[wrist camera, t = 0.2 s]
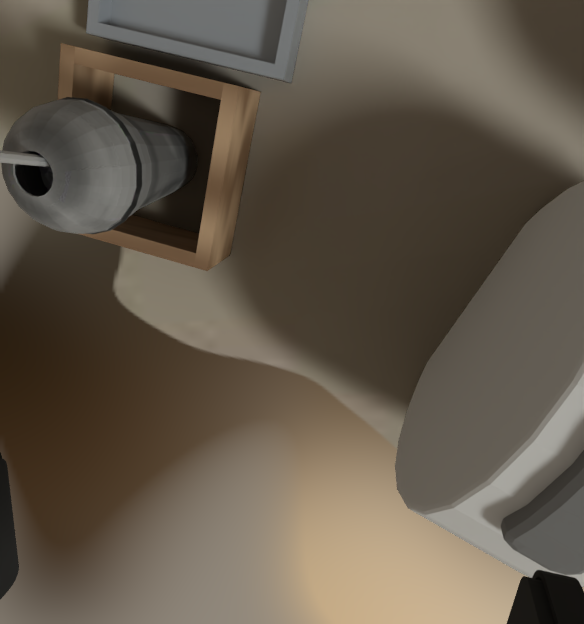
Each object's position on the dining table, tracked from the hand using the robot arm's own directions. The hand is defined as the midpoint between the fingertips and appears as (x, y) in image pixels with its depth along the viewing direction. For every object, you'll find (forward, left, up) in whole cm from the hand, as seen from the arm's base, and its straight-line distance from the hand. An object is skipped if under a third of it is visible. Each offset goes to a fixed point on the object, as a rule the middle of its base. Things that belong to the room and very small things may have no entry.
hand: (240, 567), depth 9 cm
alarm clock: (+3, +12, -32) cm, 34 cm away
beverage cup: (-2, -16, -32) cm, 35 cm away
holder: (-2, -16, -31) cm, 35 cm away
